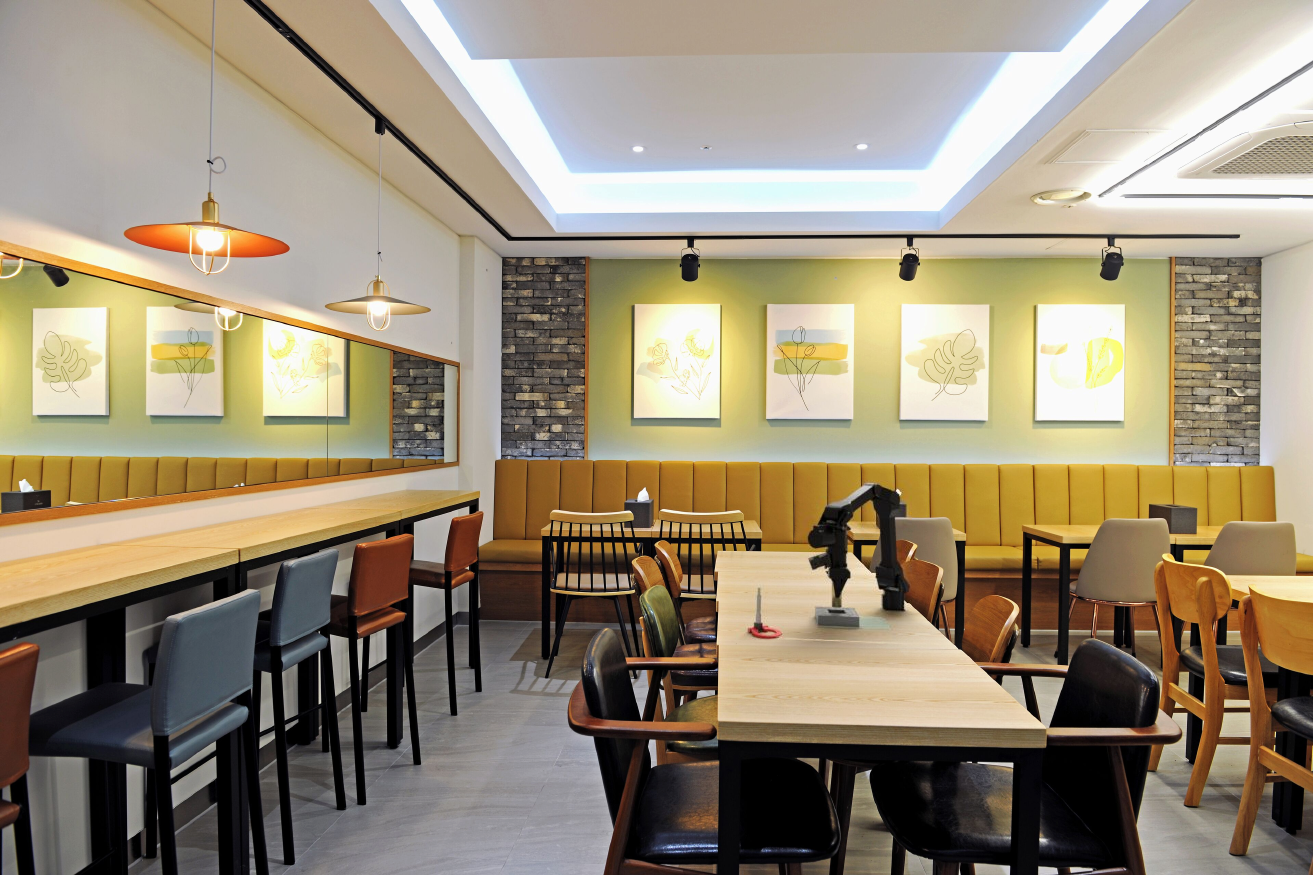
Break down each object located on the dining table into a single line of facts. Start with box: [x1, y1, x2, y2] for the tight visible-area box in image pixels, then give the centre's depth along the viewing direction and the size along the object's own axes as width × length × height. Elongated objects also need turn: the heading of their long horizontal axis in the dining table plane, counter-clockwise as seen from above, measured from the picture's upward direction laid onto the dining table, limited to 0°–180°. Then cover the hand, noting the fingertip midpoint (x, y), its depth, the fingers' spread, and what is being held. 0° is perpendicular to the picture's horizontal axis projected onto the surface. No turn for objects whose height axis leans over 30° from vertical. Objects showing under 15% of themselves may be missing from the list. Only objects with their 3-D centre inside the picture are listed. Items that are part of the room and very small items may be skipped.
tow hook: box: [747, 587, 783, 640], centre depth 210 cm, size 8×13×9 cm
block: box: [814, 606, 860, 627], centre depth 224 cm, size 12×12×3 cm
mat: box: [815, 616, 892, 631], centre depth 223 cm, size 21×15×1 cm
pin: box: [831, 581, 843, 608], centre depth 224 cm, size 3×3×10 cm
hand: (836, 596), depth 224 cm, fingers closed on pin, 3 cm apart
